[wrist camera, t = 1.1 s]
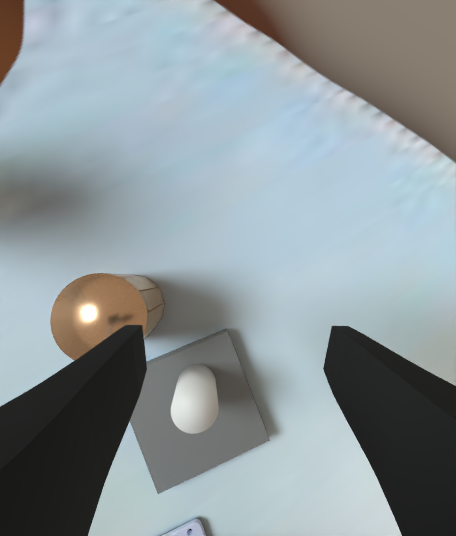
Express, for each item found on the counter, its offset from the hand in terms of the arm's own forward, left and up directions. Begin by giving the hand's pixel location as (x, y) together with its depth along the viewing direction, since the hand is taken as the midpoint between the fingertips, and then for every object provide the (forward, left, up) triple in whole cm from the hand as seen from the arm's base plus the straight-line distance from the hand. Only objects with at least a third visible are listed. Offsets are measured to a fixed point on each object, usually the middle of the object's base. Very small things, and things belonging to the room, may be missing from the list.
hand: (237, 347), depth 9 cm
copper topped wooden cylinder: (-7, +3, -13) cm, 15 cm away
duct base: (-5, -7, -13) cm, 15 cm away
